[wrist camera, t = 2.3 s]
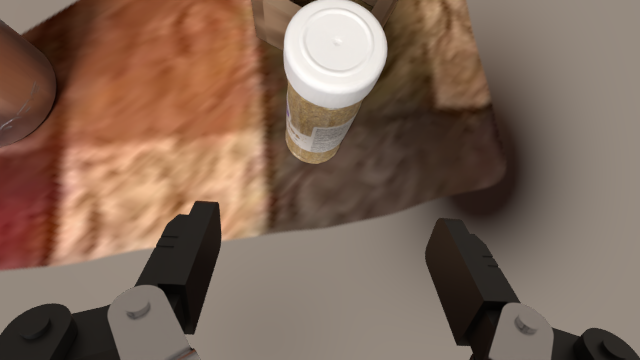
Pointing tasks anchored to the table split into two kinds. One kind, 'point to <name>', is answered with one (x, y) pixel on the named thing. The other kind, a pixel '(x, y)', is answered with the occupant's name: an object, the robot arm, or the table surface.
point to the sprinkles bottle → (329, 73)
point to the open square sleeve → (278, 9)
